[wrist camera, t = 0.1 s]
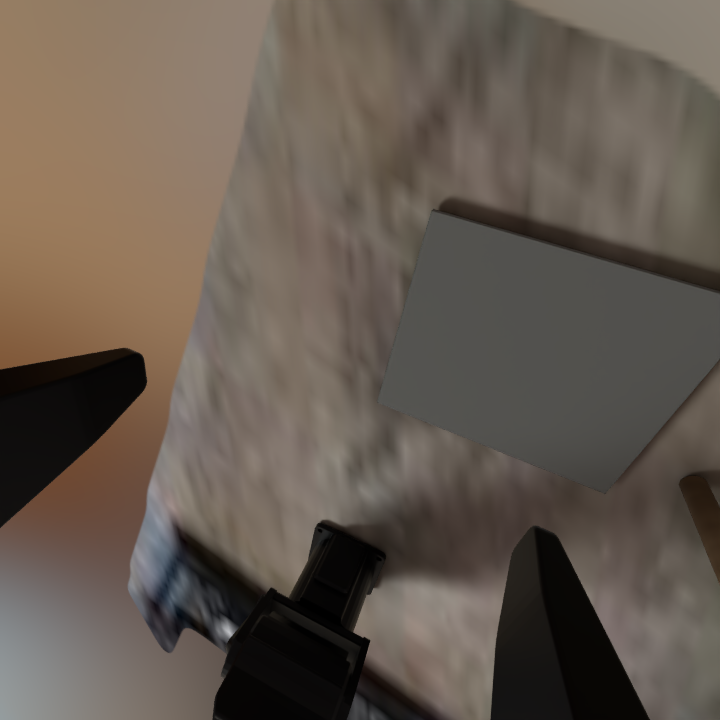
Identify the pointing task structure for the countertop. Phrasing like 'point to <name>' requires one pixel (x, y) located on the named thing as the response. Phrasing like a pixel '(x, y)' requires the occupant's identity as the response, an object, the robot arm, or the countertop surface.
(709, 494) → the stool
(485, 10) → the countertop surface
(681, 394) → the mat
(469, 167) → the countertop surface
